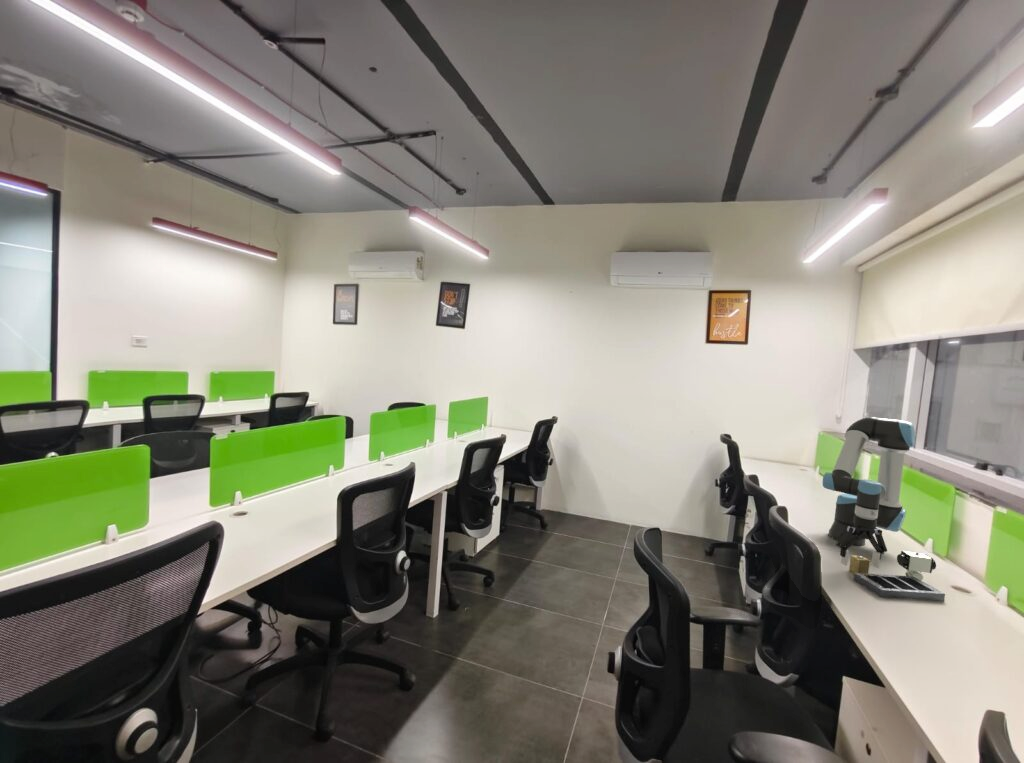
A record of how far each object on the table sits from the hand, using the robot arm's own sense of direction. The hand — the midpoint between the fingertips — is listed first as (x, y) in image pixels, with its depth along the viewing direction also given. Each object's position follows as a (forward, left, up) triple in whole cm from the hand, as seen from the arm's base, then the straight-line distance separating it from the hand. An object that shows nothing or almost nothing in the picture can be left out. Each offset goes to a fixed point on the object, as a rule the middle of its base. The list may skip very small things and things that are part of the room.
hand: (859, 565), depth 186 cm
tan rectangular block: (0, 0, -4) cm, 4 cm away
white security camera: (+2, +22, -4) cm, 23 cm away
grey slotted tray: (+12, +6, -4) cm, 14 cm away
